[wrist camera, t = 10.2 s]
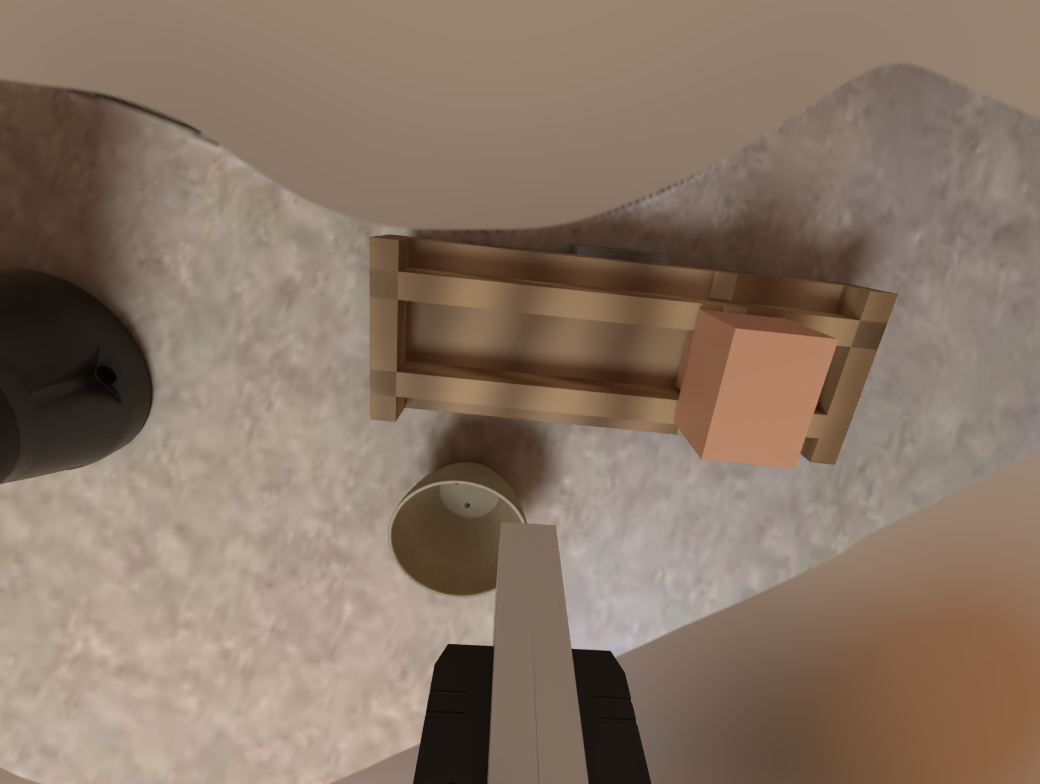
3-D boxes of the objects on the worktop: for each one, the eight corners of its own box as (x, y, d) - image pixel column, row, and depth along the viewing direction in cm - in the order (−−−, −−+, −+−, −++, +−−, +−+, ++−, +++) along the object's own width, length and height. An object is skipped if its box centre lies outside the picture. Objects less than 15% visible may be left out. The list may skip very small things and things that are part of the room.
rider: (663, 407, 32) (701, 459, 25) (686, 302, 30) (735, 328, 23) (736, 414, 32) (794, 468, 25) (765, 310, 30) (838, 339, 23)
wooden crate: (399, 387, 37) (369, 427, 30) (401, 225, 33) (368, 227, 26) (776, 425, 38) (833, 472, 31) (824, 271, 34) (902, 285, 27)
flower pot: (443, 414, 38) (425, 456, 31) (550, 470, 40) (556, 521, 33) (390, 507, 41) (364, 563, 34) (492, 555, 43) (487, 618, 36)
